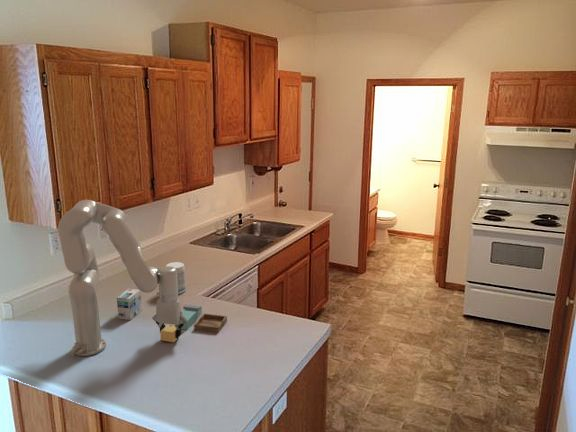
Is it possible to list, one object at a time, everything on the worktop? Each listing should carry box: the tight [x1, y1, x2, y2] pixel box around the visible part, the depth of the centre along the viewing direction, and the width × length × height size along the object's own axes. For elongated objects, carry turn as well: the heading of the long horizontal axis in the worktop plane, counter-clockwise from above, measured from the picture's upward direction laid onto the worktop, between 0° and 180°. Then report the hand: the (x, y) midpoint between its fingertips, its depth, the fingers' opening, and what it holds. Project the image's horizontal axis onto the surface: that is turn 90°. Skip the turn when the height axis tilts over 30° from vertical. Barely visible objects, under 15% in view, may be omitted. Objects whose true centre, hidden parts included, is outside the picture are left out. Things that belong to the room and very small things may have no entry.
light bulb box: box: [116, 288, 143, 321], centre depth 216 cm, size 11×7×11 cm, turn 168°
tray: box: [193, 313, 228, 334], centre depth 207 cm, size 11×11×2 cm
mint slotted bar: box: [180, 304, 203, 330], centre depth 211 cm, size 16×8×5 cm, turn 168°
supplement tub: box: [165, 261, 187, 295], centre depth 242 cm, size 10×10×15 cm
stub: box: [159, 324, 181, 343], centre depth 194 cm, size 6×6×4 cm
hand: (170, 335), depth 195 cm, fingers closed on stub, 6 cm apart
